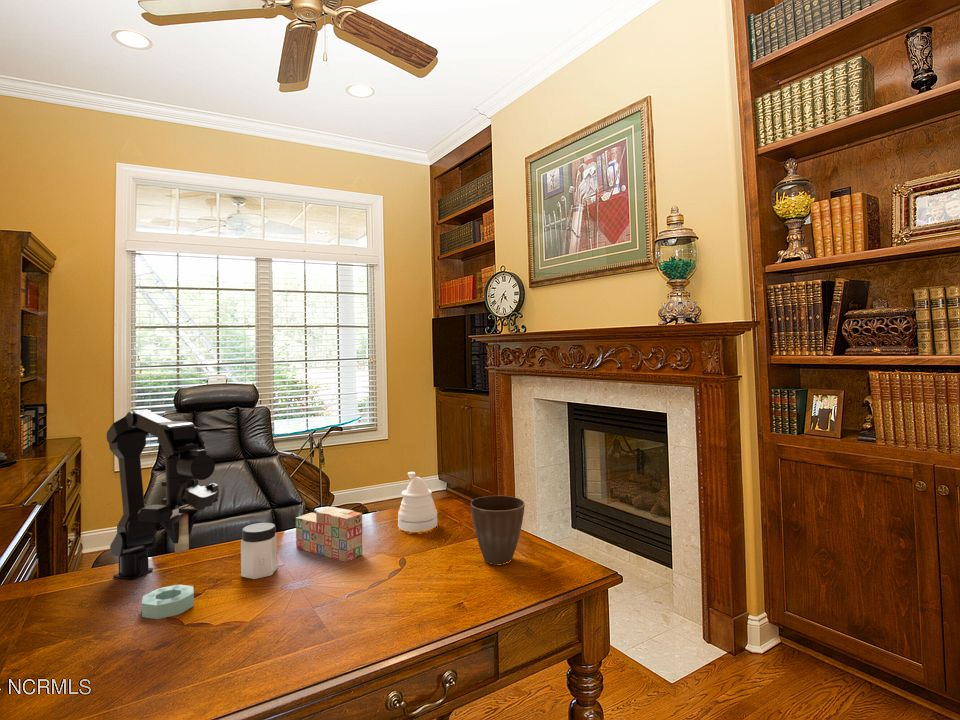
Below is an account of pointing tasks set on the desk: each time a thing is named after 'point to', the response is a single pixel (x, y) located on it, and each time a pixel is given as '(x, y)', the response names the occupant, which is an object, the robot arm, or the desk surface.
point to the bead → (167, 601)
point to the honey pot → (417, 507)
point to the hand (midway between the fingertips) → (181, 540)
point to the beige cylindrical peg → (183, 534)
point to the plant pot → (497, 526)
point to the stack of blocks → (331, 533)
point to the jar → (258, 550)
